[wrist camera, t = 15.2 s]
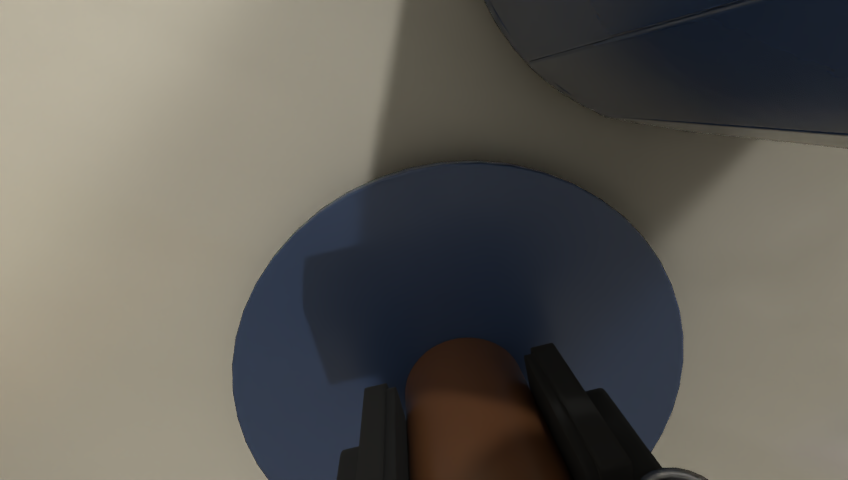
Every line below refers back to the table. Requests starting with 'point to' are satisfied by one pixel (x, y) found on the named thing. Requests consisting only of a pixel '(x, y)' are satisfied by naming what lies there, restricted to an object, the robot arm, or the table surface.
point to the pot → (694, 62)
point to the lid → (452, 323)
